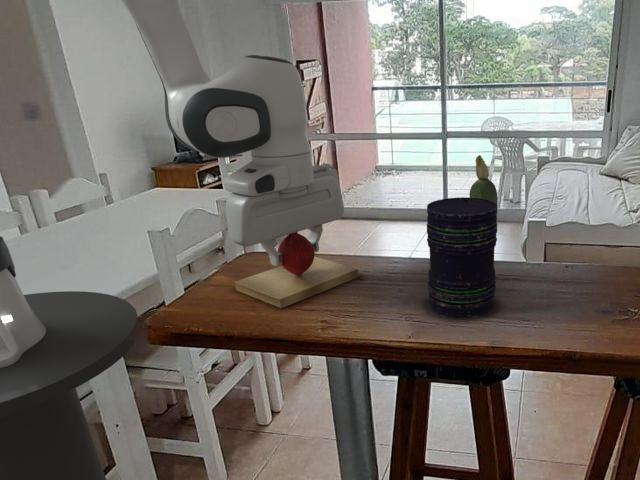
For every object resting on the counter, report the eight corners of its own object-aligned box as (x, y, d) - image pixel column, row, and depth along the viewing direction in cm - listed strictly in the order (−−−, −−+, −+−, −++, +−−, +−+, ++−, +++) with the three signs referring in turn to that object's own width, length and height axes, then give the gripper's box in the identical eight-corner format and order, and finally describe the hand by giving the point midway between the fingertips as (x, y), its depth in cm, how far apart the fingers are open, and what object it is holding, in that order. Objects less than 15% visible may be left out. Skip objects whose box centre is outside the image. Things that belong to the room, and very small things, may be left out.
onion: (323, 275, 94) (318, 227, 90) (293, 284, 90) (287, 236, 87) (303, 267, 98) (298, 221, 94) (274, 276, 94) (267, 229, 91)
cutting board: (281, 308, 86) (279, 299, 85) (236, 290, 93) (234, 281, 92) (358, 277, 97) (357, 268, 96) (312, 263, 104) (311, 255, 103)
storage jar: (490, 322, 79) (492, 216, 73) (421, 316, 81) (418, 213, 75) (499, 294, 88) (502, 198, 82) (436, 290, 90) (434, 196, 84)
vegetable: (485, 271, 97) (487, 150, 89) (501, 278, 94) (505, 154, 85) (463, 276, 95) (464, 153, 87) (479, 284, 92) (481, 157, 83)
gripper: (322, 159, 96) (330, 238, 102) (213, 181, 82) (230, 271, 88) (348, 163, 92) (355, 245, 98) (238, 186, 78) (254, 280, 84)
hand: (295, 258), depth 93 cm, fingers closed on onion, 6 cm apart
